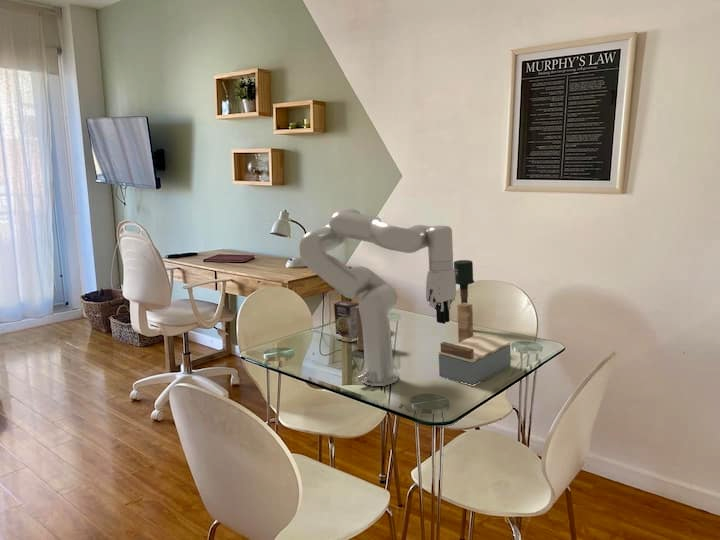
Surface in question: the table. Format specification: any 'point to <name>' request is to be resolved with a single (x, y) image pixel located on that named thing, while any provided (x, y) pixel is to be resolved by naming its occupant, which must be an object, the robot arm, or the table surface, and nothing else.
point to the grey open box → (474, 367)
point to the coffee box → (346, 319)
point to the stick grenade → (463, 277)
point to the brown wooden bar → (465, 321)
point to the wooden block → (359, 330)
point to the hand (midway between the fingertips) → (443, 321)
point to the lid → (472, 348)
